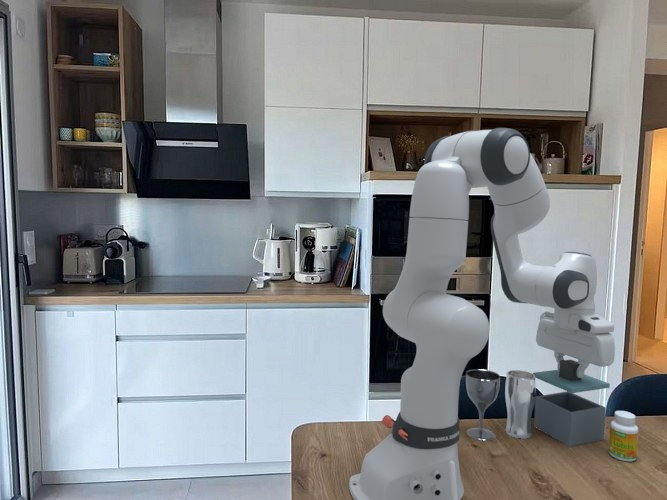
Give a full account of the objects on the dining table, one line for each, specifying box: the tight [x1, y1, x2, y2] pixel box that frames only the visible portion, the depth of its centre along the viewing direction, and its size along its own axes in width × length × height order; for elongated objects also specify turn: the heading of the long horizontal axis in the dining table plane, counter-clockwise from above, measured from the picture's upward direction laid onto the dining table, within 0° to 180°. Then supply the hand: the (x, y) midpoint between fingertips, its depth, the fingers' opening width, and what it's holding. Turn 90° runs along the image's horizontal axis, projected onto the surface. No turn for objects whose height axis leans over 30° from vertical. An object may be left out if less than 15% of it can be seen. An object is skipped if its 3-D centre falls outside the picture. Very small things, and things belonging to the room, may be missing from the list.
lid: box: [532, 359, 611, 394], centre depth 116 cm, size 12×12×5 cm
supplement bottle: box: [608, 410, 639, 462], centre depth 106 cm, size 5×5×10 cm
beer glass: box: [504, 369, 537, 440], centre depth 116 cm, size 7×7×15 cm
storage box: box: [533, 391, 607, 448], centre depth 117 cm, size 11×11×8 cm
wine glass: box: [465, 368, 501, 442], centre depth 116 cm, size 8×8×15 cm
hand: (570, 373), depth 116 cm, fingers closed on lid, 3 cm apart
